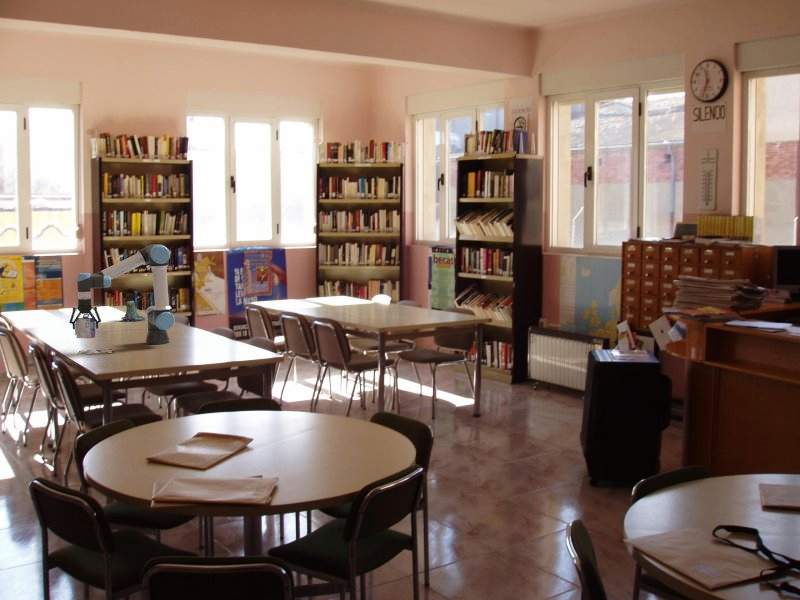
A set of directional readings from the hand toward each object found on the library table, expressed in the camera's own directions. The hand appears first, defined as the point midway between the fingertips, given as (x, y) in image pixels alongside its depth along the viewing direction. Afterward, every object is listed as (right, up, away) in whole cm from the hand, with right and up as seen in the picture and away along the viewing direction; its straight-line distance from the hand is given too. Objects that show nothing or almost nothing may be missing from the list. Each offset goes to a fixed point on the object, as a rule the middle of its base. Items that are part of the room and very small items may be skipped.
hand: (85, 334), depth 521 cm
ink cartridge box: (0, -2, 0) cm, 2 cm away
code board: (+5, -11, +3) cm, 12 cm away
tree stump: (-17, +5, +147) cm, 148 cm away
